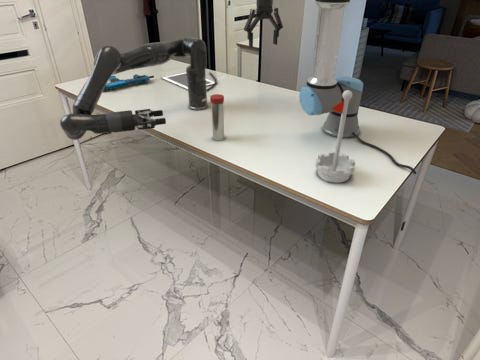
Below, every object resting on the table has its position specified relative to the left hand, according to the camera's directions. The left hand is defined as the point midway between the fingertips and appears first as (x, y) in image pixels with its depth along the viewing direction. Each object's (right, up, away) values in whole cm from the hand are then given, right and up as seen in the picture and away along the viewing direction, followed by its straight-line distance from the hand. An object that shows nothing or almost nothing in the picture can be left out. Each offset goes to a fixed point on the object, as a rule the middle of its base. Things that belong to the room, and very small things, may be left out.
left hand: (164, 116), depth 131 cm
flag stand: (+62, -23, -12) cm, 67 cm away
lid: (+20, +8, +3) cm, 22 cm away
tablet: (-3, +37, +80) cm, 88 cm away
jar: (+20, -7, +13) cm, 25 cm away
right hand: (+41, +42, +36) cm, 69 cm away
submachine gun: (-42, +35, +77) cm, 94 cm away
